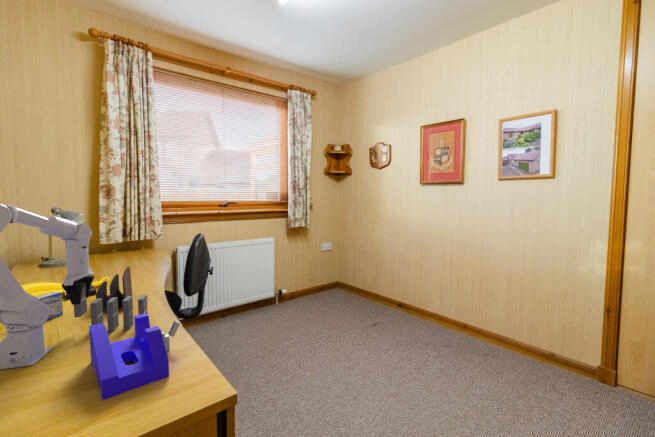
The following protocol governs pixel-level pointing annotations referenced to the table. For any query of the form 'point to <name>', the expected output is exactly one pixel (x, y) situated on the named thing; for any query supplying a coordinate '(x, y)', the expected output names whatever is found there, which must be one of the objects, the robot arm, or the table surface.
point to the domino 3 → (112, 314)
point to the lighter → (170, 334)
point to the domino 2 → (96, 311)
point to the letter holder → (115, 290)
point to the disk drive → (91, 292)
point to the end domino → (142, 305)
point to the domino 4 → (127, 312)
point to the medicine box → (52, 303)
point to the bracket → (128, 358)
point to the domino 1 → (81, 304)
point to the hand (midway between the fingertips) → (80, 301)
